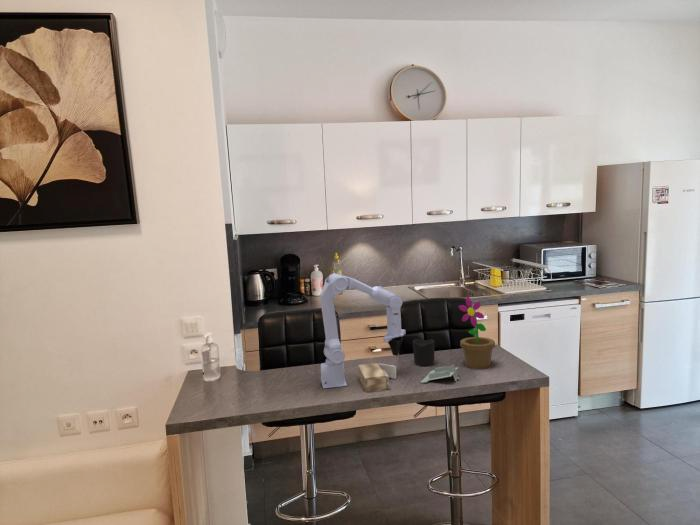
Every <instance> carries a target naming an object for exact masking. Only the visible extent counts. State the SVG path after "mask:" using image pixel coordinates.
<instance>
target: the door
mask: <svg viewBox="0 0 700 525" xmlns="http://www.w3.org/2000/svg"><path fill="white" fill-rule="evenodd" d="M378 365H379V366H380V368H381V369H382V370H385V371H386V373H387V374H388V375H389V377H390V379H394V380H395V379H396V380H397V366H396V365H391V364H385V363H381V362H380V363H378Z"/></svg>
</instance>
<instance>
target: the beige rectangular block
mask: <svg viewBox="0 0 700 525" xmlns="http://www.w3.org/2000/svg"><path fill="white" fill-rule="evenodd" d="M357 366H358V380H359V381H360V383H361V385H362V387H363V389H364V391H365V392H366V393H371V392H379V391H387V390H390V380H391V378H390V377H389V375H388V374H387V373H386V371H385V370H382V369H381V368H380V366H379V363H376V362H375V363H366V364H358V365H357Z"/></svg>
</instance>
